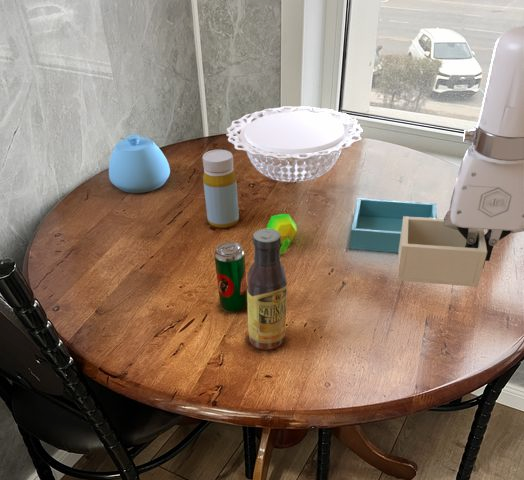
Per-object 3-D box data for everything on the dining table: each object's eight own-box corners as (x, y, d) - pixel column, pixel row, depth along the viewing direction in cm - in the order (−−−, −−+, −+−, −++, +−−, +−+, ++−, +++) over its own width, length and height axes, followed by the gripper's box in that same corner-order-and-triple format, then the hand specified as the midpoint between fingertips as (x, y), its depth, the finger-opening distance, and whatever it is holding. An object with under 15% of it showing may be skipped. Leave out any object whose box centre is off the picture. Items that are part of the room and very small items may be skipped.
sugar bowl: (99, 190, 134) (88, 144, 126) (131, 166, 144) (122, 121, 136) (152, 199, 129) (144, 151, 122) (181, 173, 140) (175, 127, 132)
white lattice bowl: (378, 200, 125) (385, 146, 116) (245, 221, 120) (242, 166, 111) (332, 147, 148) (334, 99, 139) (219, 163, 143) (214, 114, 134)
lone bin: (473, 254, 85) (482, 220, 80) (477, 287, 78) (487, 251, 74) (398, 249, 87) (403, 216, 83) (396, 280, 81) (401, 246, 77)
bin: (432, 221, 117) (436, 203, 114) (433, 256, 107) (437, 236, 104) (355, 216, 120) (357, 197, 117) (349, 248, 110) (351, 229, 107)
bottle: (242, 214, 122) (237, 149, 112) (235, 230, 117) (230, 163, 107) (212, 212, 124) (205, 148, 113) (204, 228, 119) (196, 162, 108)
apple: (273, 201, 111) (291, 221, 105) (295, 215, 115) (313, 234, 108) (253, 229, 113) (269, 250, 107) (275, 242, 117) (291, 263, 111)
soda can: (248, 312, 96) (244, 255, 88) (220, 315, 96) (213, 257, 88) (247, 295, 100) (243, 239, 92) (219, 297, 100) (213, 241, 92)
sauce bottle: (261, 357, 88) (256, 252, 74) (241, 336, 92) (233, 233, 78) (294, 342, 90) (295, 238, 77) (274, 322, 94) (271, 220, 81)
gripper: (444, 151, 67) (422, 273, 80) (577, 155, 64) (533, 282, 77) (442, 128, 72) (422, 246, 85) (565, 131, 69) (525, 253, 82)
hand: (474, 262), depth 81 cm, fingers closed on lone bin, 1 cm apart
